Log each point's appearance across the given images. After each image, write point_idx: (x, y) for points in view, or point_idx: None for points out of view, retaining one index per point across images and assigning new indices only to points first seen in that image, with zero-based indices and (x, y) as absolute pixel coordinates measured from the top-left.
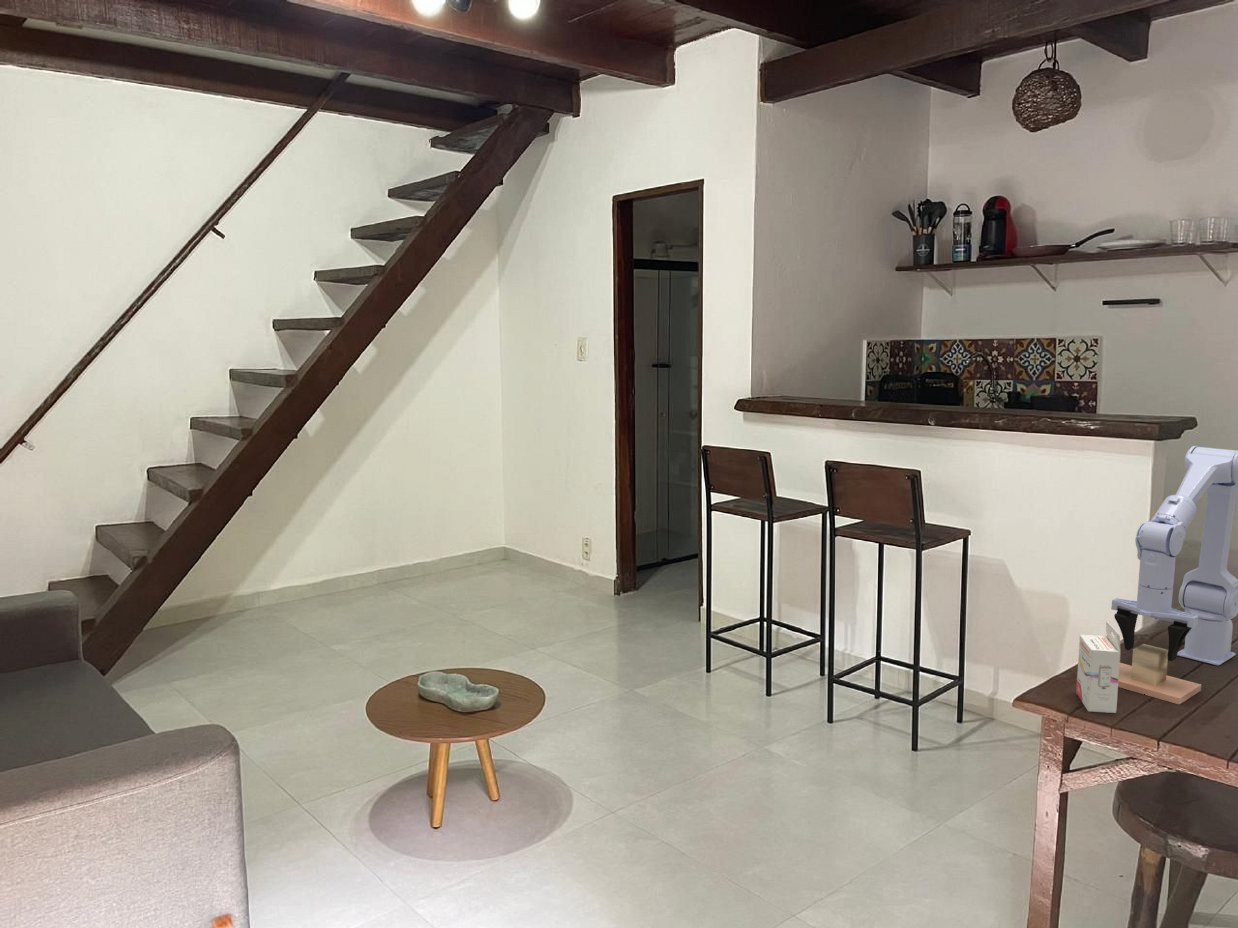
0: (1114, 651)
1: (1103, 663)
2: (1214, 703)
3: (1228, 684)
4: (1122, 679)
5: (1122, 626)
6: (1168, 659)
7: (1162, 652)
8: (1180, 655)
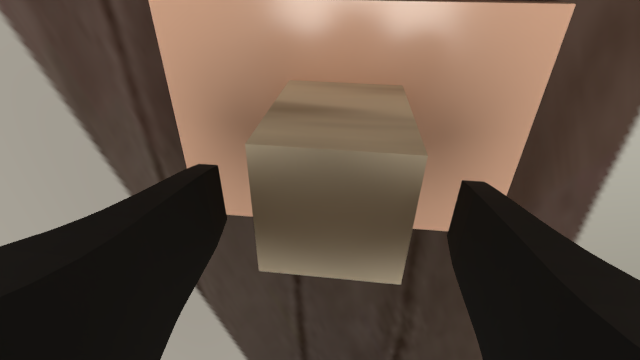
0: None
1: None
2: (116, 119)
3: None
4: (431, 42)
5: (637, 300)
6: (209, 165)
7: (259, 215)
8: None
